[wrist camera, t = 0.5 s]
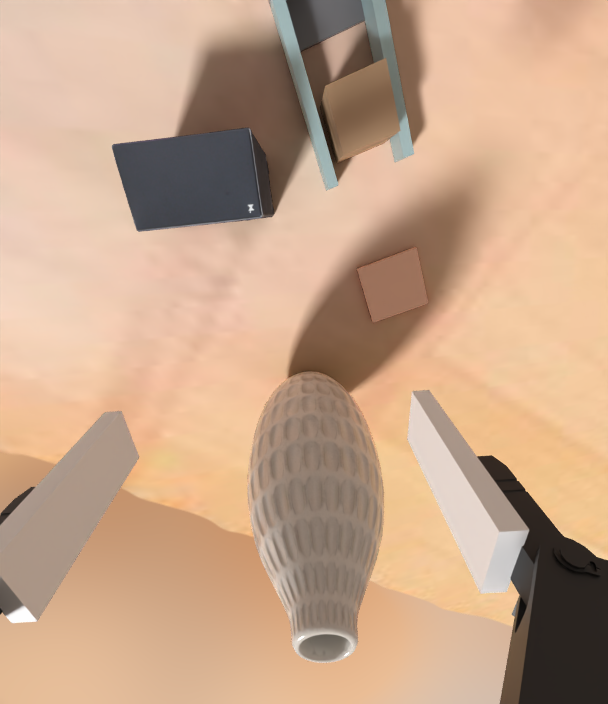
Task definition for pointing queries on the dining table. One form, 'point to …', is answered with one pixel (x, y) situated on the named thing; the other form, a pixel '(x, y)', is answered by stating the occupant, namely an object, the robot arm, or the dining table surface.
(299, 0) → the channel
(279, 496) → the vase
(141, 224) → the small box
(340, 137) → the block
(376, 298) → the tile
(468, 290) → the dining table surface
